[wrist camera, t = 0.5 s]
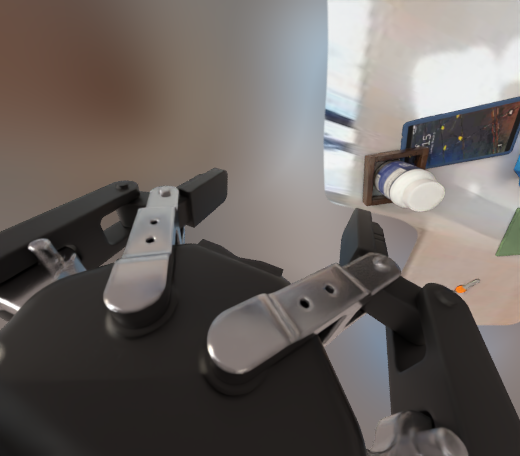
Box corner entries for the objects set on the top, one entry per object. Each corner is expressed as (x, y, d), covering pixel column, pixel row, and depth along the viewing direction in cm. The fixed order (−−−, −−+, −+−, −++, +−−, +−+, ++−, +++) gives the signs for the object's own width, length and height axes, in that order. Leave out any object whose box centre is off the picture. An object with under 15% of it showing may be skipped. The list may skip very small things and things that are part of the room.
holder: (365, 155, 31) (369, 158, 30) (421, 145, 30) (429, 147, 28) (362, 201, 35) (366, 206, 33) (412, 195, 34) (419, 199, 32)
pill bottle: (415, 170, 32) (463, 191, 23) (388, 197, 34) (422, 224, 26) (390, 152, 31) (430, 166, 22) (364, 181, 33) (392, 203, 25)
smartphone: (512, 153, 29) (399, 174, 32) (507, 152, 30) (396, 173, 33) (535, 93, 25) (404, 122, 28) (528, 93, 26) (402, 122, 29)
